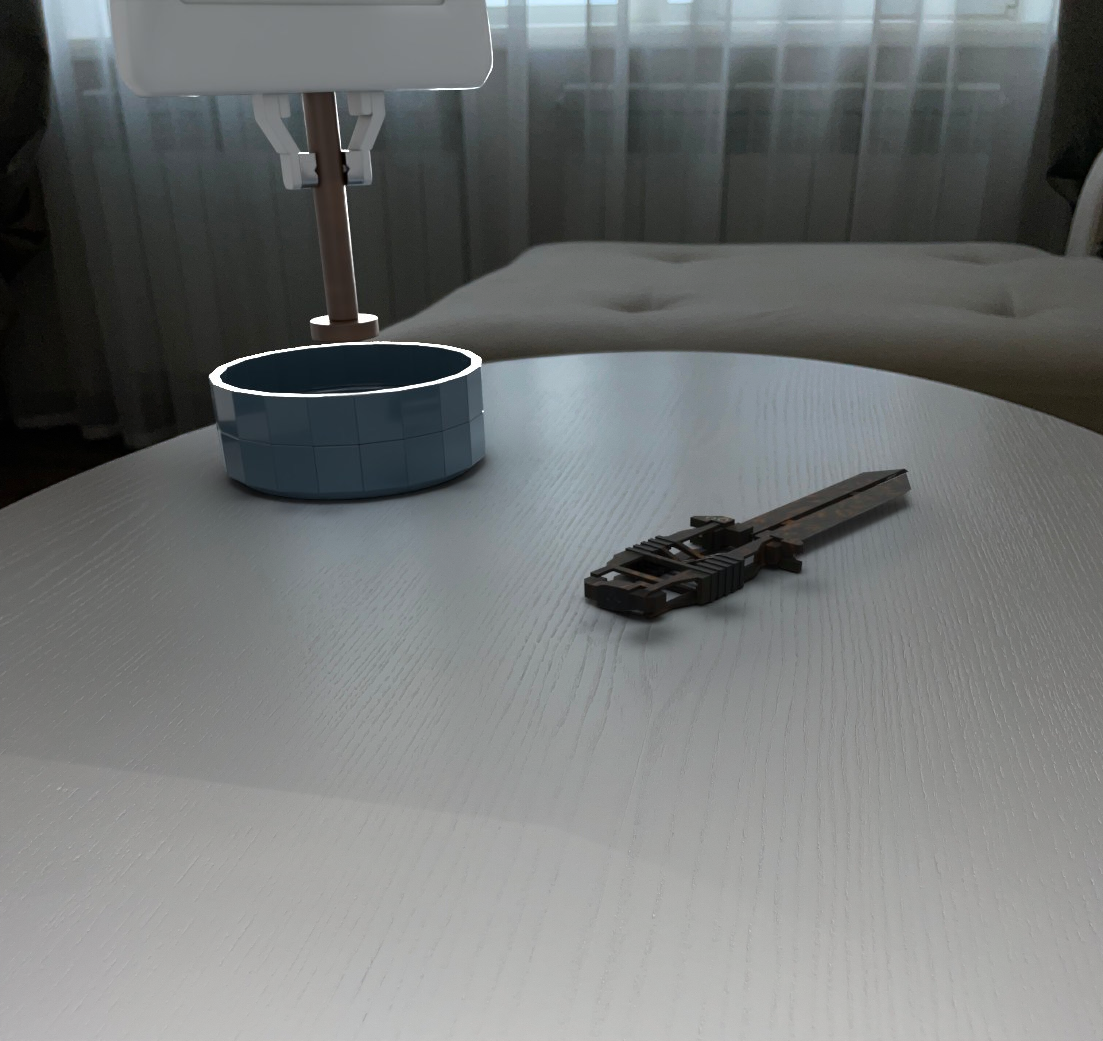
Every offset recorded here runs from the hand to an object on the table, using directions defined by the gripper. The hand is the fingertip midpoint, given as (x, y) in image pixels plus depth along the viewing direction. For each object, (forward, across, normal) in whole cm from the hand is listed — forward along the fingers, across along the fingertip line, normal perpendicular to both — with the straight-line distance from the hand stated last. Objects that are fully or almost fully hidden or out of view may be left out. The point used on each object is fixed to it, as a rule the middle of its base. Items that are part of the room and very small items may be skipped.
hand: (328, 186), depth 65 cm
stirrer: (+8, 0, 0) cm, 8 cm away
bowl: (+16, 0, 0) cm, 16 cm away
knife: (+16, -13, +25) cm, 33 cm away
